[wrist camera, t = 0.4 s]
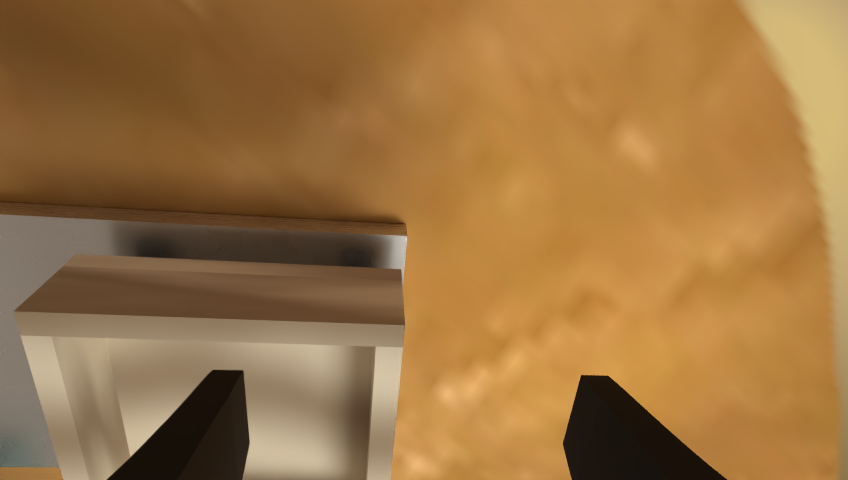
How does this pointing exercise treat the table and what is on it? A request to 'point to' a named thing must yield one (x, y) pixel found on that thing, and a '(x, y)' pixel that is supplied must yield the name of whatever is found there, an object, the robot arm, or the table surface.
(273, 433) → the brown open box
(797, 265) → the table surface
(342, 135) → the table surface
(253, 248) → the rail board
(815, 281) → the table surface
